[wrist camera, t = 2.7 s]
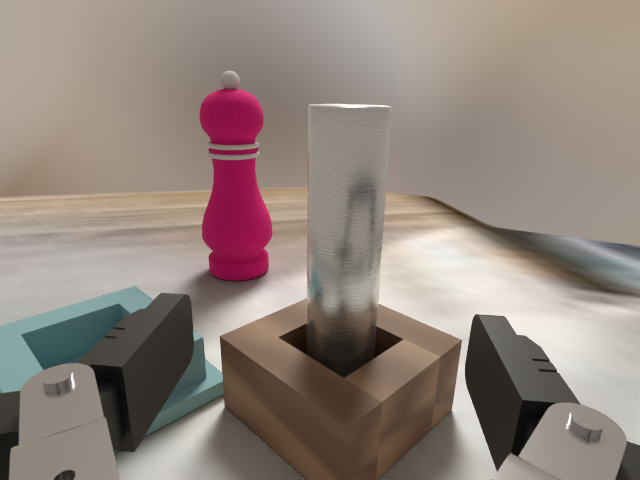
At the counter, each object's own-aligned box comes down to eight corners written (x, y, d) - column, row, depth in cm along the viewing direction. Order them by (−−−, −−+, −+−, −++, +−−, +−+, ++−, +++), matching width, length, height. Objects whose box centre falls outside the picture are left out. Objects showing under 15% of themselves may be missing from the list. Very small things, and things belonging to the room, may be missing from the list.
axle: (336, 379, 30) (346, 103, 24) (383, 408, 27) (408, 107, 21) (292, 407, 27) (291, 104, 21) (340, 443, 24) (354, 109, 18)
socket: (147, 322, 36) (142, 278, 35) (229, 390, 28) (225, 337, 27) (-32, 386, 28) (-48, 333, 27) (12, 508, 20) (-8, 440, 19)
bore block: (334, 344, 34) (336, 285, 32) (451, 409, 27) (461, 340, 25) (224, 406, 27) (219, 336, 25) (343, 512, 20) (347, 428, 19)
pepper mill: (235, 252, 52) (225, 72, 45) (286, 265, 48) (283, 72, 42) (190, 273, 46) (171, 69, 39) (244, 289, 42) (234, 69, 36)
